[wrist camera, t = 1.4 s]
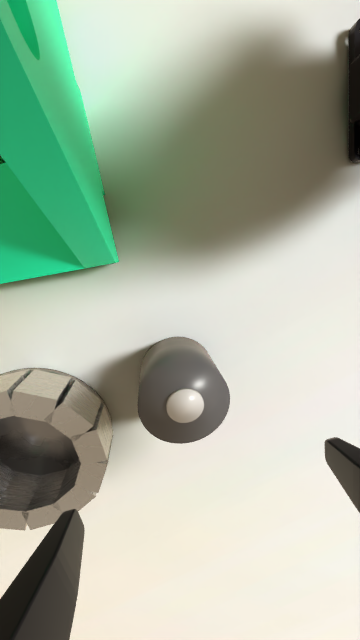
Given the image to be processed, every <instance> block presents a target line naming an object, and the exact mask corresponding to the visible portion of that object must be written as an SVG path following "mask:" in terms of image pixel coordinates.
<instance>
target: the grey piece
mask: <svg viewBox="0 0 360 640" xmlns="http://www.w3.org/2000/svg"><path fill="white" fill-rule="evenodd" d="M112 434H113V429H112V421H111V417H110V414H109V411H108V409H107V406H106V405H105V403H104V402H103V400H102V399H101V397H100V396H99V395H98V394H97V393H96V392H95V391H94V390H93V389H92V388H91V387H90V386H89V385H87V384H86V383H84V382H83V381H81V380H79V379H78V378H76V377H74V376H71V375H69V374H66V373H63V372H60V371H56V370H51V369H44V368H26V369H19V370H14V371H10V372H7V373H4V374H2V375H0V528H4V529H15V530H25V529H26V527H27V524H28V526H29V528H30V530H32V529H36V528H39V527H43V526H46V525H50V524H54V523H55V522H56V521H57V519H58V518H59V517H60V515H61V514H62V513H63V512H65V511H68V510H71V509H76V510H77V511H79V510H80V509H81V508H83V507H84V506H85V505H86V504H87V503H89V502H90V501H91V500H92V499H93V498H95V497H96V493H98V492H99V489H100V486H101V483H102V480H103V476H104V473H105V470H106V467H107V464H108V458H109V453H110V448H111V443H112V438H113V435H112Z"/></svg>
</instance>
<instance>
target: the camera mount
mask: <svg viewBox="0 0 360 640" xmlns="http://www.w3.org/2000/svg"><path fill="white" fill-rule="evenodd" d="M0 156H1V157H2V158H3V160H4V161H5V163H3V164H0V284H3V283H8V282H14V281H19V280H25V279H30V278H36V277H41V276H46V275H52V274H57V273H63V272H68V271H74V270H79V269H85V268H90V267H96V266H101V265H106V264H112V263H117V262H119V259H118V255H117V251H116V247H115V243H114V239H113V234H112V230H111V226H110V222H109V218H108V214H107V210H106V205H105V201H104V197H103V195H105V193H104V189H103V184H102V180H101V176H100V172H99V168H98V163H97V159H96V155H95V151H94V147H93V142H92V138H91V134H90V130H89V126H88V121H87V117H86V113H85V109H84V105H83V100H82V96H81V92H80V90H79V87H78V85H77V83H76V80H75V76H74V72H73V68H72V64H71V60H70V56H69V51H68V47H67V43H66V39H65V35H64V31H63V27H62V22H61V18H60V14H59V10H58V6H57V2H56V0H0Z"/></svg>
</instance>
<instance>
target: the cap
mask: <svg viewBox="0 0 360 640" xmlns="http://www.w3.org/2000/svg"><path fill="white" fill-rule="evenodd" d="M229 404H230V394H229V389H228V386H227V384H226V382H225V380H224V379H223V377H222V375H221V374H220V372H219V370H218V369H217V367H216V366H215V364H214V362H213V361H212V359H211V357H210V356H209V354H208V353H207V351H206V350H205V348H204V347H203V346H202V345H201V344H199V343H198V342H196V341H194V340H192V339H189V338H185V337H171V338H167V339H164V340H161V341H159V342H158V343H156V344H155V345H153V346H152V347H151V348H150V349H149V350H148V351H147V353H146V354H145V356H144V358H143V360H142V363H141V369H140V382H139V396H138V413H139V417H140V419H141V422H142V424H143V425H144V427H145V428H146V429H147V430H148V431H149V432H150V433H151V434H152V435H154V436H155V437H157V438H159V439H161V440H163V441H166V442H170V443H189V442H194V441H197V440H200V439H202V438H204V437H206V436H208V435H209V434H211V433H212V432H213V431H214V430H215V429H217V428H218V427H219V425H220V424H221V423H222V421H223V420H224V418H225V416H226V414H227V412H228V409H229Z"/></svg>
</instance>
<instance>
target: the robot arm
mask: <svg viewBox="0 0 360 640" xmlns="http://www.w3.org/2000/svg"><path fill="white" fill-rule="evenodd" d="M359 30H360V19H359V20H358V21H357V22H356V23H355V24H354V25H353V27H352V28H351V30H350V32H349V159H350V160H351V161H352V162H355V163H357V162H360V155H359V154H358V149H359V150H360V31H359ZM325 459H326V462H327V464H328V465H329V467H330V468H331V470H332V472H333V473H334V475H335V476H336V478H337V479H338V481H339V482H340V484H341V485H342V487H343V489H344V490H345V492H346V493H347V495H348V496H349V498H350V499H351V501H352V502H353V504H354V505H355V507H356V508H357V510H358V511H359V513H360V448H358V447H356V446H354V445H352V444H350V443H348V442H346V441H343V440H341V439H339V438H336V437H334V438H330V439H327V440H326V441H325ZM83 541H84V525H83V522H82V520H81V518H80V515H79V513H78V511H77V510H76V509H71V510H68V511H65V512H63V513H62V514H61V515H60V517H59V518H58V519H57V521H56V522H55V524H54V525H53V526H52V528H51V529H50V531H49V532H48V533H47V535H46V536H45V538H44V539H43V540H42V542H41V543H40V545H39V546H38V547H37V549H36V550H35V551H34V553H33V554H32V556H31V557H30V558H29V560H28V561H27V563H26V564H25V565H24V567H23V568H22V570H21V571H20V572H19V574H18V575H17V577H16V578H15V579H14V581H13V582H12V583H11V585H10V586H9V588H8V589H7V590H6V592H5V593H4V595H3V596H2V597H1V599H0V640H69V638H70V633H71V628H72V622H73V617H74V612H75V607H76V601H77V595H78V587H79V578H80V569H81V560H82V550H83Z"/></svg>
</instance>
